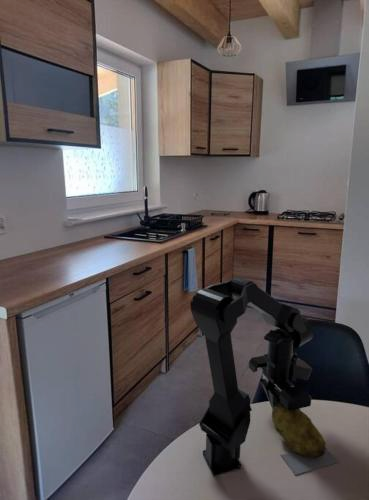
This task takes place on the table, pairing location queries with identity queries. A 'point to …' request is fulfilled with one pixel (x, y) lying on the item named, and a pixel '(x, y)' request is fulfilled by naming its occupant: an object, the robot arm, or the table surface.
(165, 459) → the table surface
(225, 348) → the robot arm
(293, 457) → the mat
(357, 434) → the table surface
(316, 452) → the potato
